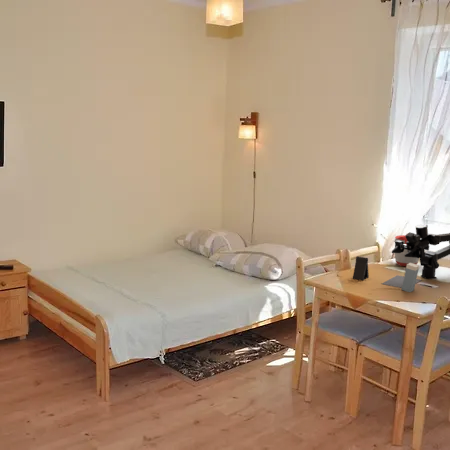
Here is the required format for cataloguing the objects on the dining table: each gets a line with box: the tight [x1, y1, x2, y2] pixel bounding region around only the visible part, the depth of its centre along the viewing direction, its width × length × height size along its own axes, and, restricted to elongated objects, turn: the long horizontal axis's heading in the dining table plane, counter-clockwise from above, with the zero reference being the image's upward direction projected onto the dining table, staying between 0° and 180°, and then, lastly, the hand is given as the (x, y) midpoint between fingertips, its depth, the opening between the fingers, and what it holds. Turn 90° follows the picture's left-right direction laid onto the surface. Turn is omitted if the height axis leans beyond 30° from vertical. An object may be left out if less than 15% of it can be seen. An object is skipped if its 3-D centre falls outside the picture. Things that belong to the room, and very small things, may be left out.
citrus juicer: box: [394, 233, 420, 267], centre depth 334 cm, size 16×17×20 cm
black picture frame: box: [352, 256, 370, 281], centre depth 305 cm, size 9×6×12 cm, turn 145°
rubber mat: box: [381, 274, 422, 289], centre depth 299 cm, size 22×14×1 cm, turn 141°
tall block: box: [401, 263, 420, 293], centre depth 282 cm, size 5×5×14 cm
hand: (398, 253), depth 294 cm, fingers open, 9 cm apart
